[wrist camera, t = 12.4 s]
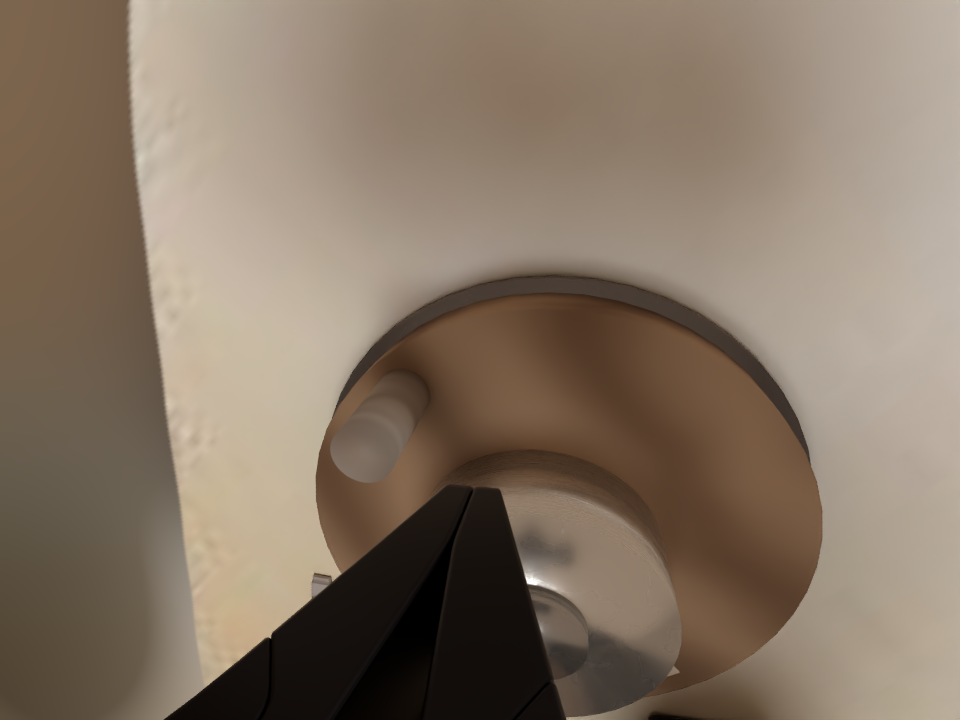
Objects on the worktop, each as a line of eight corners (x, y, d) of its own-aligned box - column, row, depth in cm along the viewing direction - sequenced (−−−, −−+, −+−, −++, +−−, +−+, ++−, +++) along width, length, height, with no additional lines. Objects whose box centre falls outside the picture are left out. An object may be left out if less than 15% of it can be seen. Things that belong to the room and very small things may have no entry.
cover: (559, 402, 17) (555, 474, 13) (715, 583, 19) (748, 688, 15) (374, 520, 21) (332, 600, 17) (520, 659, 23) (509, 758, 19)
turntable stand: (876, 277, 16) (1184, 418, 8) (741, 728, 26) (815, 994, 18) (292, 273, 20) (95, 365, 12) (370, 668, 30) (293, 865, 22)
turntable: (603, 170, 16) (617, 186, 10) (894, 570, 20) (1014, 731, 14) (256, 458, 24) (161, 552, 18) (516, 701, 28) (501, 837, 22)
